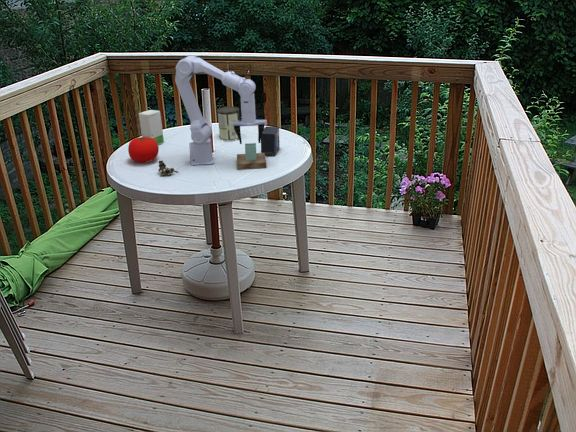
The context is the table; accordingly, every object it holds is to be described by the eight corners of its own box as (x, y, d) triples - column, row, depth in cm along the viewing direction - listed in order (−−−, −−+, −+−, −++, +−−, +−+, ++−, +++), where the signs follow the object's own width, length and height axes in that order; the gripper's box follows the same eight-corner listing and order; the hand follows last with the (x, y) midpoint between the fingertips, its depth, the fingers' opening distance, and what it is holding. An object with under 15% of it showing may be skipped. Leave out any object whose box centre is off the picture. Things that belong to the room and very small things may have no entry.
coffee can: (228, 133, 280) (226, 105, 273) (245, 136, 275) (243, 107, 268) (215, 139, 272) (212, 110, 266) (232, 142, 267) (230, 113, 261)
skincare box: (152, 148, 263) (147, 115, 256) (142, 145, 266) (137, 113, 260) (164, 142, 270) (160, 110, 263) (154, 140, 273) (150, 108, 266)
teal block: (245, 160, 237) (244, 147, 234) (245, 157, 241) (245, 143, 238) (256, 160, 237) (255, 146, 234) (256, 156, 241) (255, 143, 238)
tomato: (130, 156, 253) (126, 134, 249) (159, 153, 256) (156, 131, 251) (130, 167, 241) (126, 144, 236) (160, 164, 243) (157, 141, 239)
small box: (275, 156, 248) (274, 133, 243) (260, 156, 249) (259, 133, 244) (280, 148, 257) (279, 126, 252) (266, 148, 258) (265, 125, 254)
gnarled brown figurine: (177, 178, 226) (152, 167, 226) (174, 191, 230) (149, 180, 229) (188, 164, 236) (163, 154, 236) (184, 176, 240) (160, 166, 239)
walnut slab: (237, 169, 235) (237, 164, 234) (237, 159, 246) (236, 154, 244) (266, 168, 236) (266, 162, 235) (264, 158, 246) (264, 152, 245)
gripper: (230, 114, 227) (232, 146, 232) (266, 112, 228) (268, 144, 233) (230, 109, 233) (232, 141, 239) (265, 107, 234) (267, 139, 240)
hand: (250, 142), depth 237 cm, fingers open, 7 cm apart
